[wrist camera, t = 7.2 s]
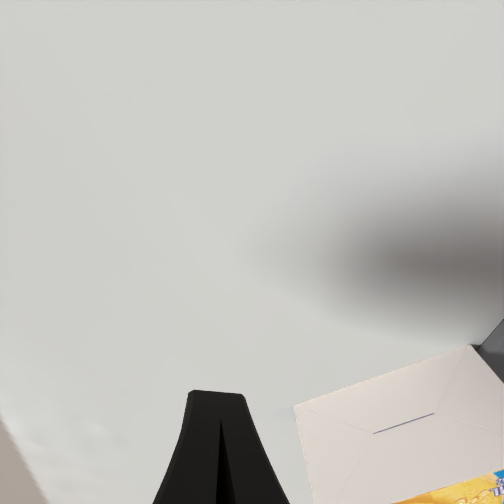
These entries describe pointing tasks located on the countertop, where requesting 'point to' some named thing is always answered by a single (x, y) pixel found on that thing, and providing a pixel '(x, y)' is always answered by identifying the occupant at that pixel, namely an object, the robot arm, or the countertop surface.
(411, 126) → the countertop surface
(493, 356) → the mat
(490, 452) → the beverage box
